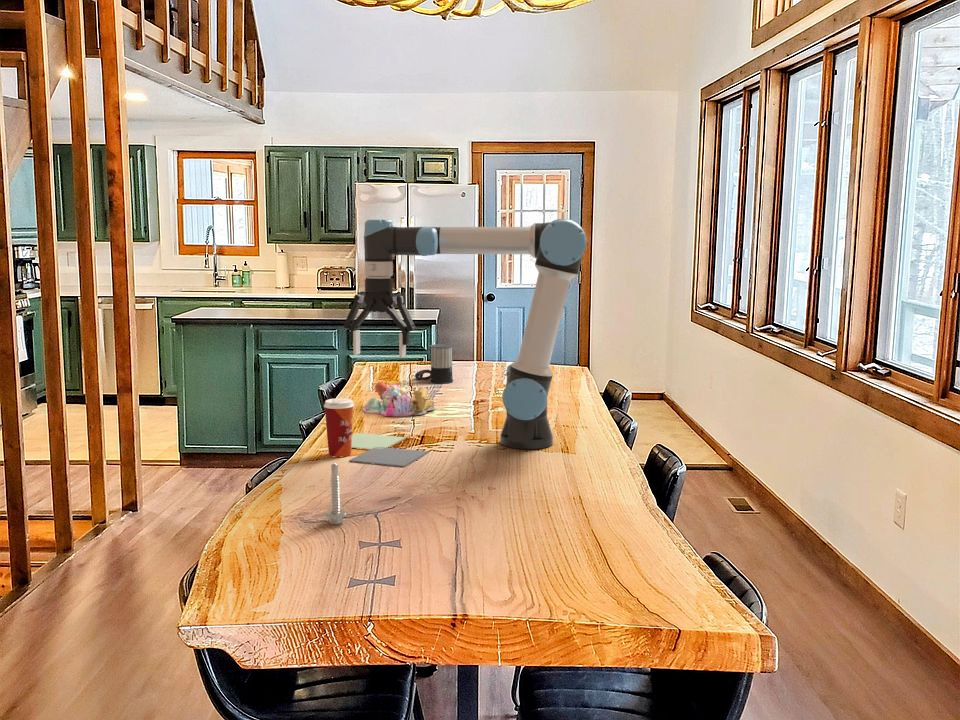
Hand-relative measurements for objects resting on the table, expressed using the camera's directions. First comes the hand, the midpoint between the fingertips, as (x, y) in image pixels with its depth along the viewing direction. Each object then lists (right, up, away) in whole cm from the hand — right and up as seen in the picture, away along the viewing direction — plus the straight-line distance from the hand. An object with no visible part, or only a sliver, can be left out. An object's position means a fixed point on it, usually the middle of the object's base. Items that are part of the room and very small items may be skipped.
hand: (379, 355), depth 245 cm
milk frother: (+9, -10, +118) cm, 119 cm away
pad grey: (+3, -27, -2) cm, 28 cm away
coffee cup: (-11, -27, +1) cm, 29 cm away
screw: (-3, -36, -56) cm, 66 cm away
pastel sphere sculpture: (0, -19, +61) cm, 64 cm away
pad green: (-5, -25, +14) cm, 29 cm away
